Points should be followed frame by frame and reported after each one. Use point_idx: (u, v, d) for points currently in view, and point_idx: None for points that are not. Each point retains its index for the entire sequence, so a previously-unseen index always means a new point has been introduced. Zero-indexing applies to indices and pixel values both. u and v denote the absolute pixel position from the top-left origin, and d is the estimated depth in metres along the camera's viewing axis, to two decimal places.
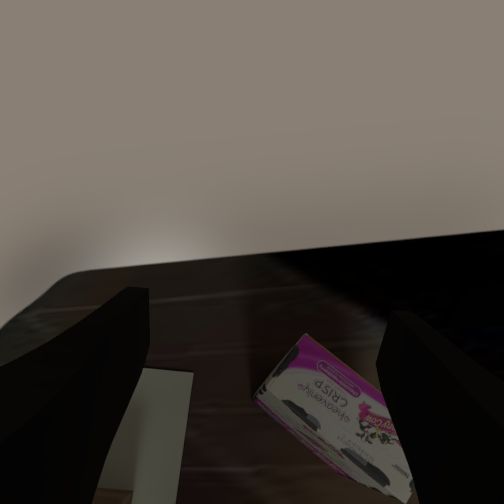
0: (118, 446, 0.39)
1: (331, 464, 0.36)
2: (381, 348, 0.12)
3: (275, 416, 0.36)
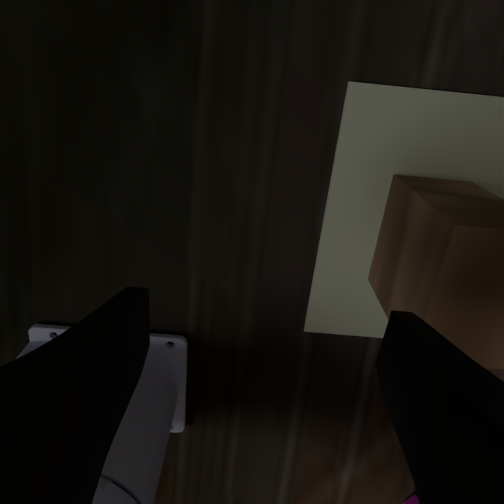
0: None
1: None
2: (381, 348, 0.12)
3: None
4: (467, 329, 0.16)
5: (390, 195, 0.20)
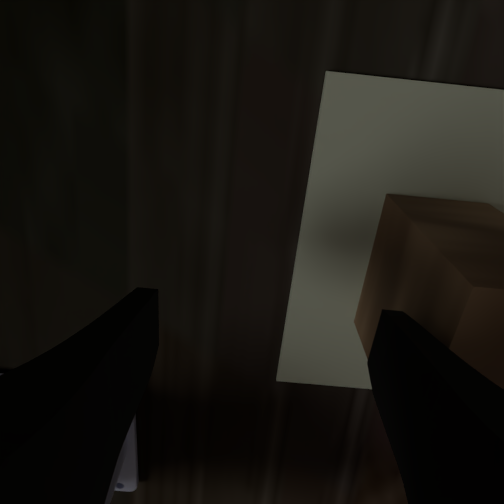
0: None
1: None
2: (372, 347, 0.12)
3: None
4: None
5: (382, 221, 0.15)
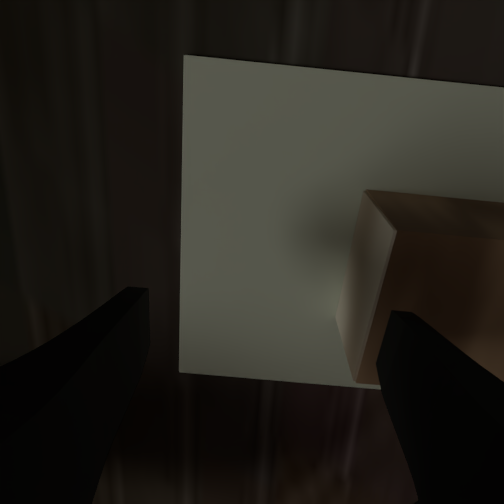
0: None
1: None
2: (381, 348, 0.12)
3: None
4: None
5: (401, 261, 0.12)
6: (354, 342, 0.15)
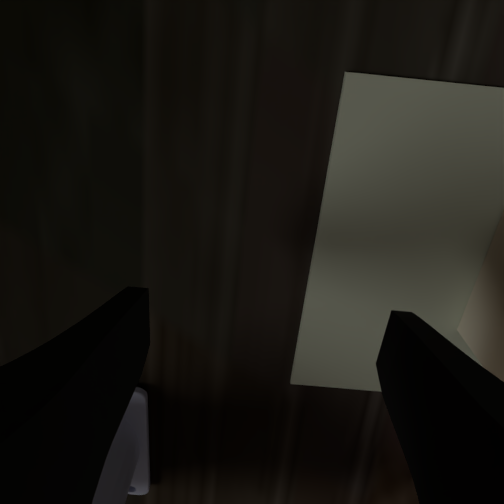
0: None
1: None
2: (381, 348, 0.12)
3: None
4: None
5: None
6: (502, 357, 0.15)
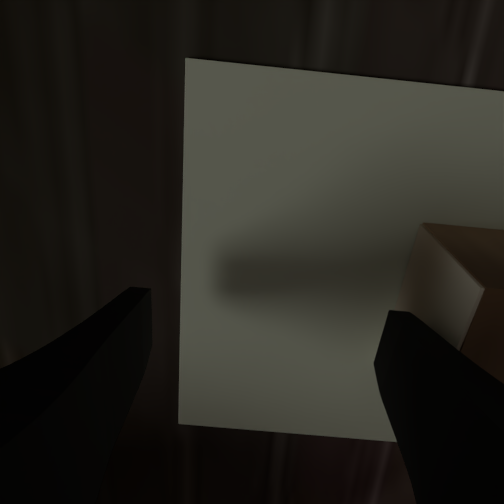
0: None
1: None
2: (379, 348, 0.12)
3: None
4: None
5: (487, 325, 0.10)
6: None
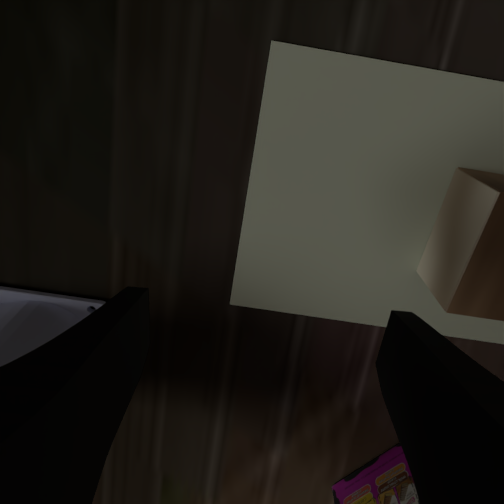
0: None
1: None
2: (381, 348, 0.12)
3: None
4: None
5: (499, 216, 0.17)
6: (445, 282, 0.19)
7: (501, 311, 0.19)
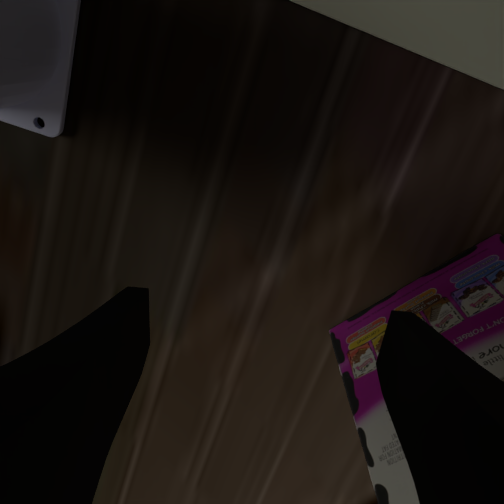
0: None
1: (372, 358, 0.21)
2: (381, 348, 0.12)
3: (503, 306, 0.18)
4: None
5: None
6: None
7: None
